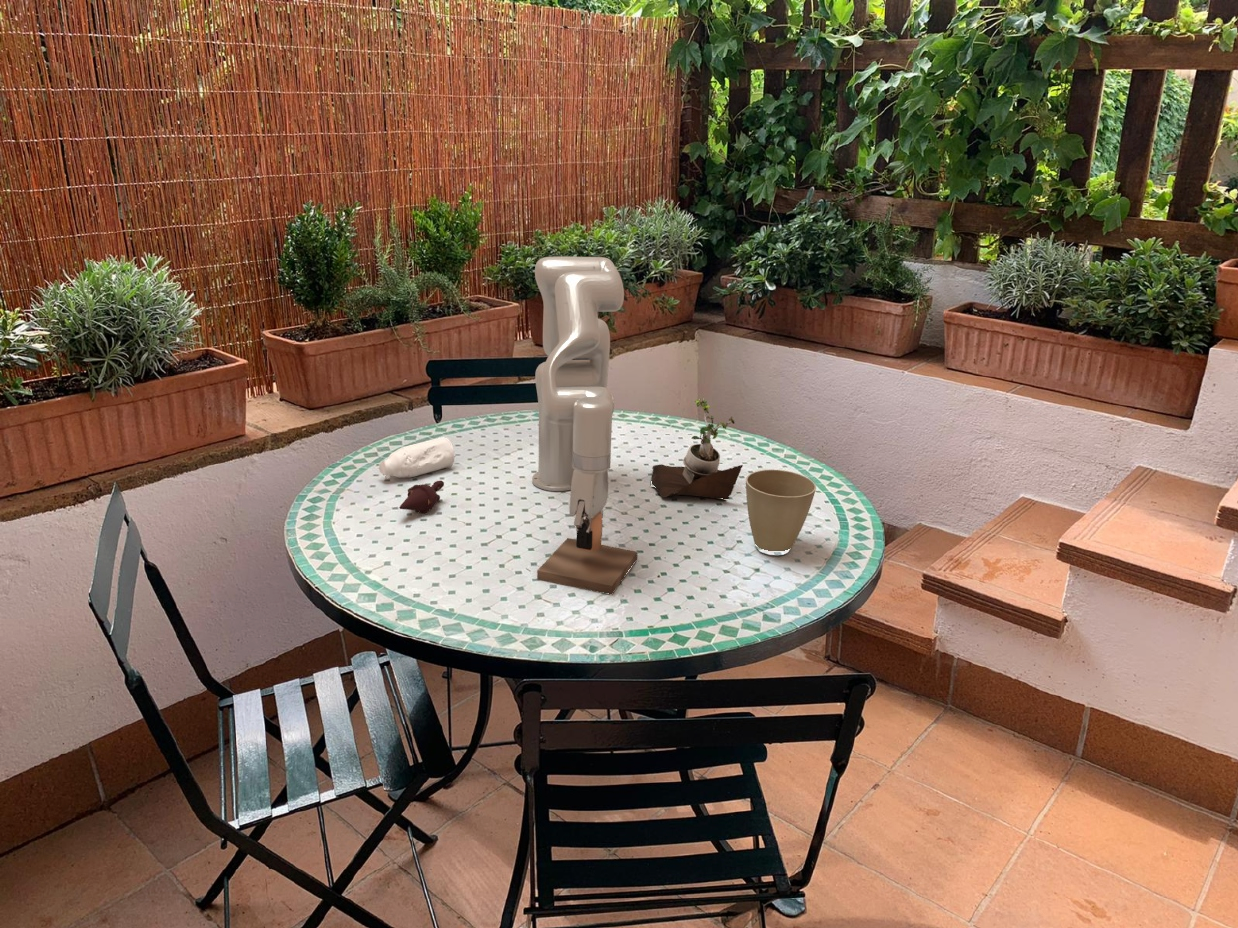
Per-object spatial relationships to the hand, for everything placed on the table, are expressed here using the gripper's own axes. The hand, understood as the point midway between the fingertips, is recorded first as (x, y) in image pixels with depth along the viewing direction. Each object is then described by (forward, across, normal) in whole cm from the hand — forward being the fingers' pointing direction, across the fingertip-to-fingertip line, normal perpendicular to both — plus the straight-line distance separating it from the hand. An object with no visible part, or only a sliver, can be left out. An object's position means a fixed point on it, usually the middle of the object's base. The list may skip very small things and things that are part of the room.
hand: (589, 541), depth 189 cm
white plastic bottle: (+6, -30, -58) cm, 66 cm away
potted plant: (+7, -51, +8) cm, 52 cm away
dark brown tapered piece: (+7, -11, -46) cm, 48 cm away
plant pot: (+7, -25, +34) cm, 43 cm away
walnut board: (+6, 0, 0) cm, 6 cm away
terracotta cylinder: (+1, 0, 0) cm, 1 cm away
